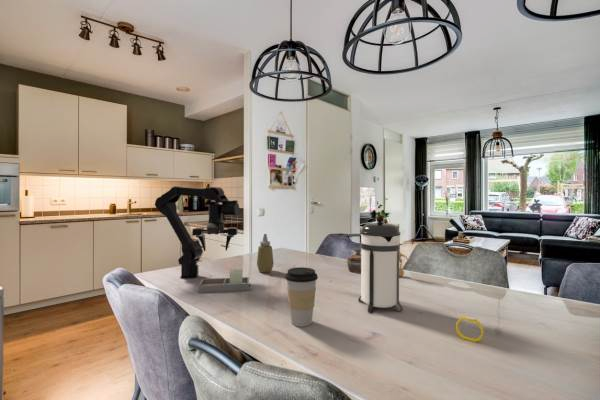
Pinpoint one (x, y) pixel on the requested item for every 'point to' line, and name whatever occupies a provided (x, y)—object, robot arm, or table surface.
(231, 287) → the board
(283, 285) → the table surface
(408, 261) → the figurine
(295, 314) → the coffee cup
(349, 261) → the cupcake
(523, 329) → the table surface
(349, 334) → the table surface
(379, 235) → the coffee press
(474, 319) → the yellow ring
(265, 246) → the squeeze bottle
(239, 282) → the sage block
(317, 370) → the table surface
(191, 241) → the robot arm
